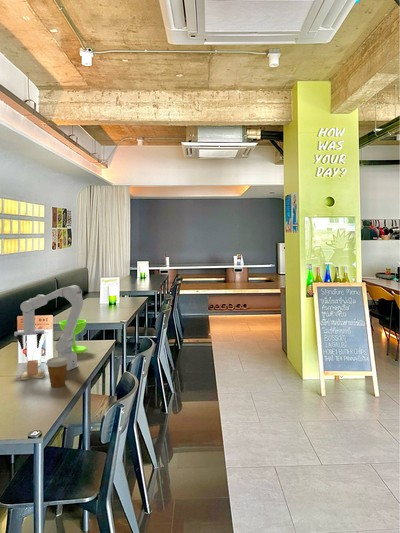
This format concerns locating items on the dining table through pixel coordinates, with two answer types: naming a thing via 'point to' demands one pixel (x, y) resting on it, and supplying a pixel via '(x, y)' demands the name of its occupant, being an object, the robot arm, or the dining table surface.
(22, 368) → the dining table surface
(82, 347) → the wineglass
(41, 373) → the birch board
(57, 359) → the disposable coffee cup
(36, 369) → the terracotta block
